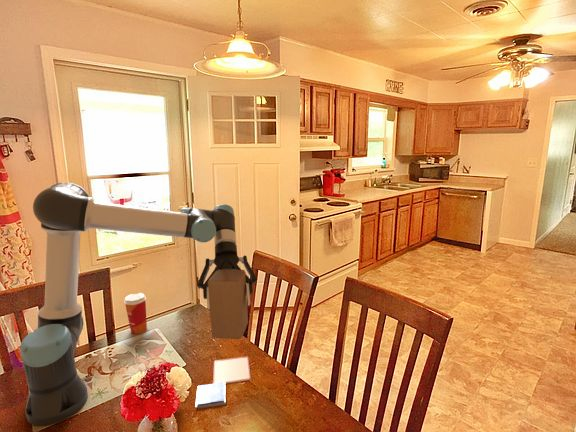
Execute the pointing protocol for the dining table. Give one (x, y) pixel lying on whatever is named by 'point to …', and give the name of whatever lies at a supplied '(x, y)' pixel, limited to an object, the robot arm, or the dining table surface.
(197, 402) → the ink pad
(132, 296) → the coffee cup
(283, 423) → the dining table surface
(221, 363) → the print card
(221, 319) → the block
